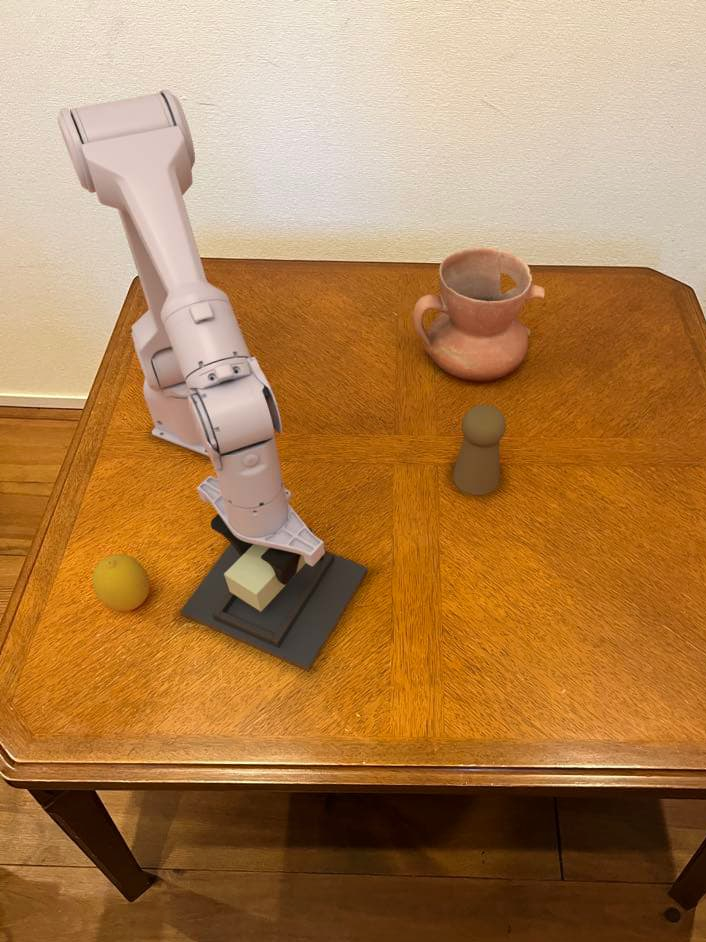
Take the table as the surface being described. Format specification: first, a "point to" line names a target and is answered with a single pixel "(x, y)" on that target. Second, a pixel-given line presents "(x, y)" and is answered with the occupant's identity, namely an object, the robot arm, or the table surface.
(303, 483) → the table surface
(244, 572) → the cream rectangular block
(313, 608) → the base pad
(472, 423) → the brown pawn
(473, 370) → the ceramic jug
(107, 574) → the lemon
